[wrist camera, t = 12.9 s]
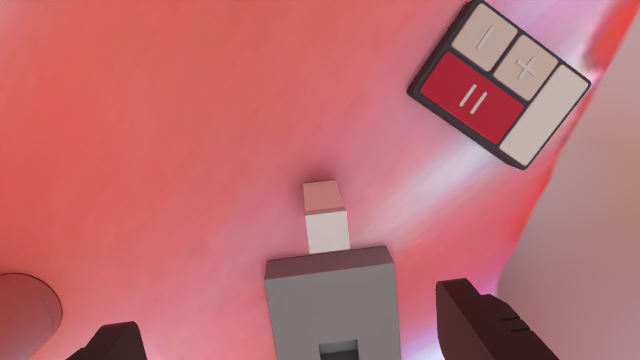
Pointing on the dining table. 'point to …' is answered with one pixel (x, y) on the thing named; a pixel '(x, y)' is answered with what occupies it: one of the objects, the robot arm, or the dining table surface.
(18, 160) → the dining table surface
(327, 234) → the pale square peg
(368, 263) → the header
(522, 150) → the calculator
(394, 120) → the dining table surface
